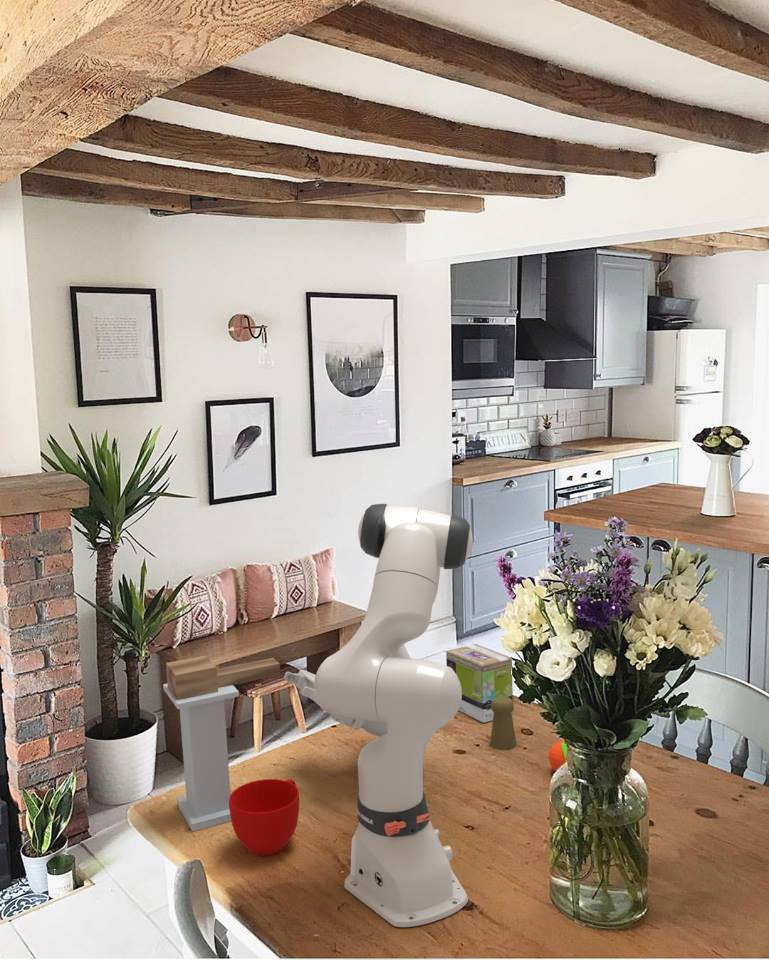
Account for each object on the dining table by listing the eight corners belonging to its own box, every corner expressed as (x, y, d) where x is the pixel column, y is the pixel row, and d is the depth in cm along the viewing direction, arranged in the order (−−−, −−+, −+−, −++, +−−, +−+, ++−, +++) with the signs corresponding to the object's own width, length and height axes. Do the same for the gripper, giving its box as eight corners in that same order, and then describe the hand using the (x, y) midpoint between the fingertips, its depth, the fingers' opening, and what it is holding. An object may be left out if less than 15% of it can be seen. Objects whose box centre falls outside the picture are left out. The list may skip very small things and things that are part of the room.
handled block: (283, 678, 180) (282, 654, 179) (177, 700, 171) (175, 675, 170) (270, 666, 187) (269, 643, 186) (167, 687, 178) (165, 662, 177)
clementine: (583, 784, 185) (582, 751, 184) (549, 782, 186) (548, 750, 185) (581, 766, 193) (581, 735, 192) (548, 765, 194) (548, 733, 193)
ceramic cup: (324, 824, 173) (321, 776, 172) (278, 871, 158) (275, 818, 157) (267, 812, 179) (264, 765, 177) (217, 857, 163) (214, 805, 162)
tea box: (514, 714, 222) (513, 657, 220) (482, 724, 216) (481, 666, 214) (477, 696, 234) (475, 641, 232) (446, 705, 229) (444, 649, 227)
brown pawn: (487, 748, 203) (486, 702, 202) (492, 737, 209) (491, 692, 207) (514, 751, 201) (513, 704, 200) (518, 739, 207) (517, 694, 206)
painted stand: (247, 816, 177) (238, 691, 174) (187, 832, 172) (177, 704, 169) (229, 791, 188) (221, 672, 184) (172, 806, 183) (163, 684, 179)
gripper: (335, 674, 201) (283, 654, 195) (374, 704, 183) (318, 683, 177) (323, 701, 200) (270, 681, 194) (361, 733, 182) (305, 713, 176)
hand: (293, 682), depth 185 cm, fingers open, 8 cm apart
